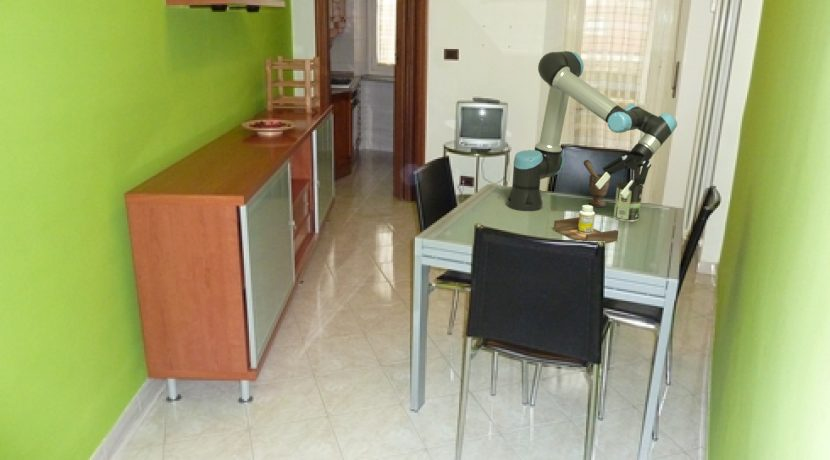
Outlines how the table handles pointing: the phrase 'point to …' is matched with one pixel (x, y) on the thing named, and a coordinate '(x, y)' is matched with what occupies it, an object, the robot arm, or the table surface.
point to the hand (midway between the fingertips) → (609, 191)
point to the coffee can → (627, 203)
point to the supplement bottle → (586, 220)
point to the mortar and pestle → (597, 193)
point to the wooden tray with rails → (571, 230)
